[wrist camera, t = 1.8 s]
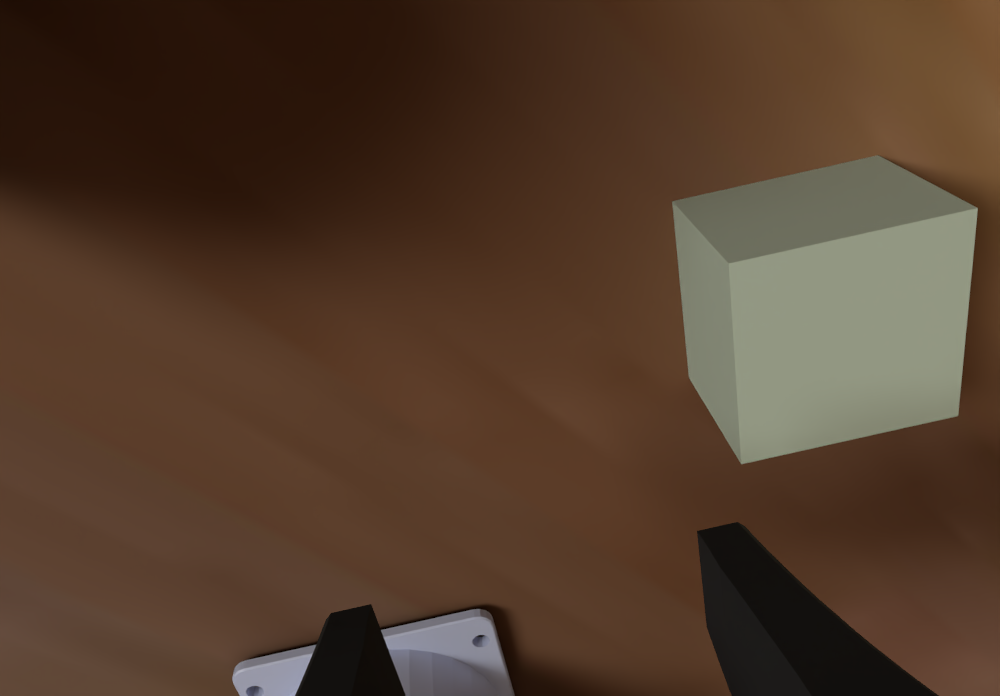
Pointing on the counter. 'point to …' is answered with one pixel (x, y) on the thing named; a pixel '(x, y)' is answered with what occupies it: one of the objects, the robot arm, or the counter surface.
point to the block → (825, 304)
